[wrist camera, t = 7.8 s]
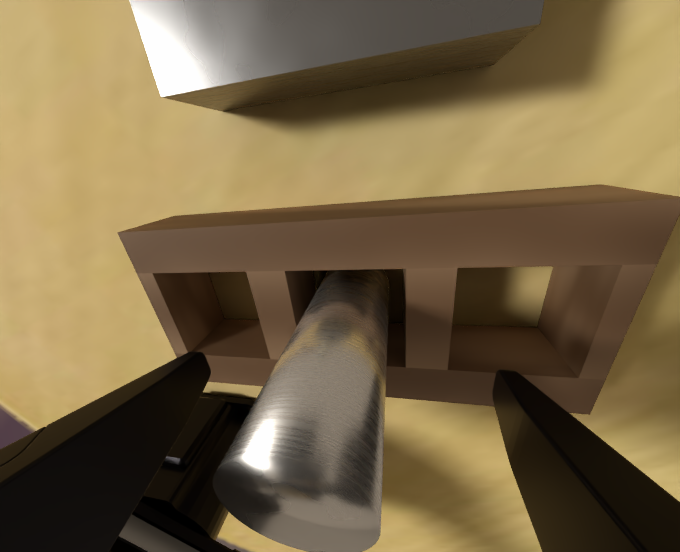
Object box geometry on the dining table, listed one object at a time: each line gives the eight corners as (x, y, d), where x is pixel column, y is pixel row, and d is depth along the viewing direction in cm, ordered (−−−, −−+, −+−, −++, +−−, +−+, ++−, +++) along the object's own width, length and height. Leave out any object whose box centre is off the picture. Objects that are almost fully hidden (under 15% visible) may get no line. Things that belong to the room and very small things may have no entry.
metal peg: (390, 313, 13) (383, 569, 5) (328, 312, 14) (238, 535, 6) (388, 254, 12) (376, 475, 4) (321, 256, 12) (189, 445, 4)
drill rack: (547, 358, 12) (589, 414, 10) (221, 342, 16) (187, 379, 14) (600, 184, 9) (686, 198, 6) (174, 215, 13) (117, 232, 10)
